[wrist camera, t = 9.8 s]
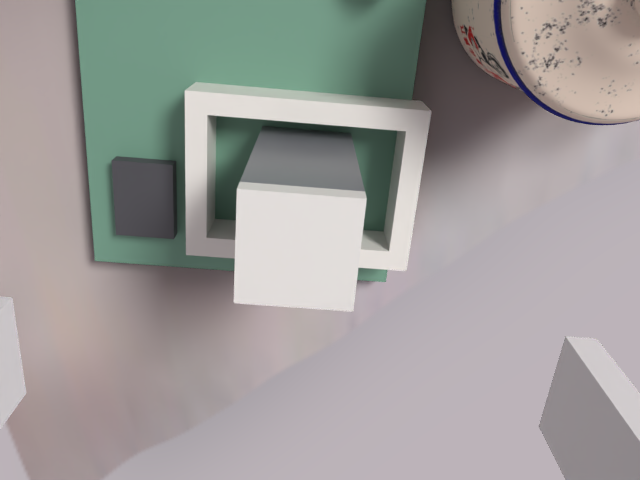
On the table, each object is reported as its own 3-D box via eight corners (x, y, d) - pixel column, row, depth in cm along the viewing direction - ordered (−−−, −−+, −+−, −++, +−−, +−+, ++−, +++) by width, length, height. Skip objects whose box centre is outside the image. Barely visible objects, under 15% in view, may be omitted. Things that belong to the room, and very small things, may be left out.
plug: (262, 126, 29) (236, 188, 20) (351, 133, 29) (366, 199, 20) (258, 215, 31) (233, 311, 21) (341, 221, 31) (352, 319, 22)
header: (195, 81, 28) (184, 90, 26) (422, 101, 28) (431, 111, 26) (195, 234, 31) (185, 254, 29) (399, 249, 32) (406, 271, 29)
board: (76, -117, 26) (45, -131, 23) (433, -83, 26) (448, -92, 23) (102, 251, 33) (81, 277, 30) (383, 272, 33) (389, 299, 30)
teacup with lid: (416, 57, 29) (475, 95, 18) (492, -151, 25) (620, -254, 15) (631, 130, 30) (803, 205, 20) (730, -56, 27) (1005, -89, 16)
